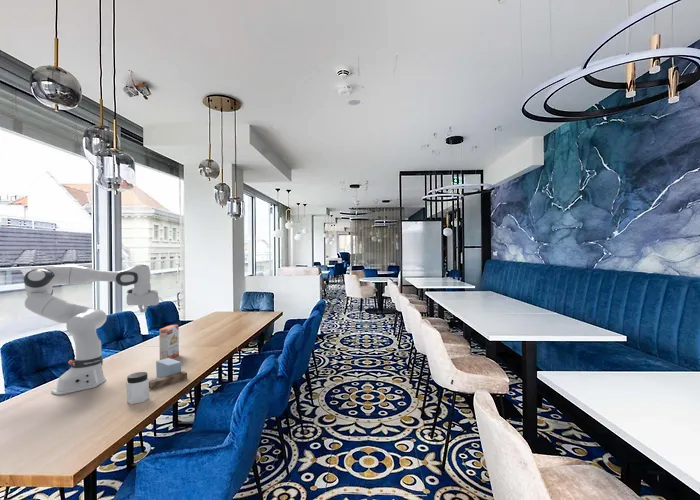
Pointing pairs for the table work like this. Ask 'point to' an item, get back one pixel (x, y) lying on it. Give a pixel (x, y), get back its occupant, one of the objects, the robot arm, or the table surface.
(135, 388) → the jar
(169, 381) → the board
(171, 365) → the brick
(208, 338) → the table surface
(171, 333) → the cracker box
